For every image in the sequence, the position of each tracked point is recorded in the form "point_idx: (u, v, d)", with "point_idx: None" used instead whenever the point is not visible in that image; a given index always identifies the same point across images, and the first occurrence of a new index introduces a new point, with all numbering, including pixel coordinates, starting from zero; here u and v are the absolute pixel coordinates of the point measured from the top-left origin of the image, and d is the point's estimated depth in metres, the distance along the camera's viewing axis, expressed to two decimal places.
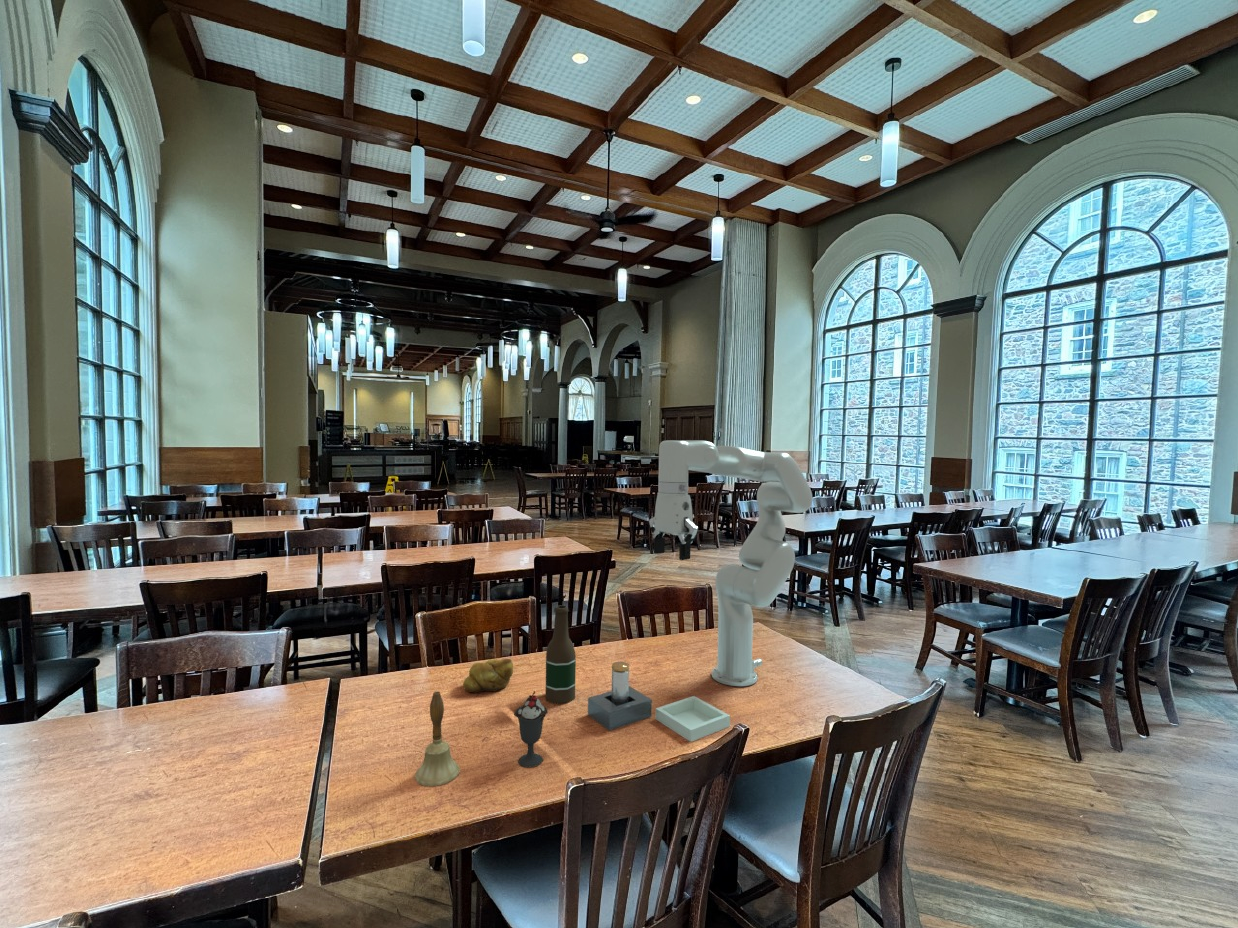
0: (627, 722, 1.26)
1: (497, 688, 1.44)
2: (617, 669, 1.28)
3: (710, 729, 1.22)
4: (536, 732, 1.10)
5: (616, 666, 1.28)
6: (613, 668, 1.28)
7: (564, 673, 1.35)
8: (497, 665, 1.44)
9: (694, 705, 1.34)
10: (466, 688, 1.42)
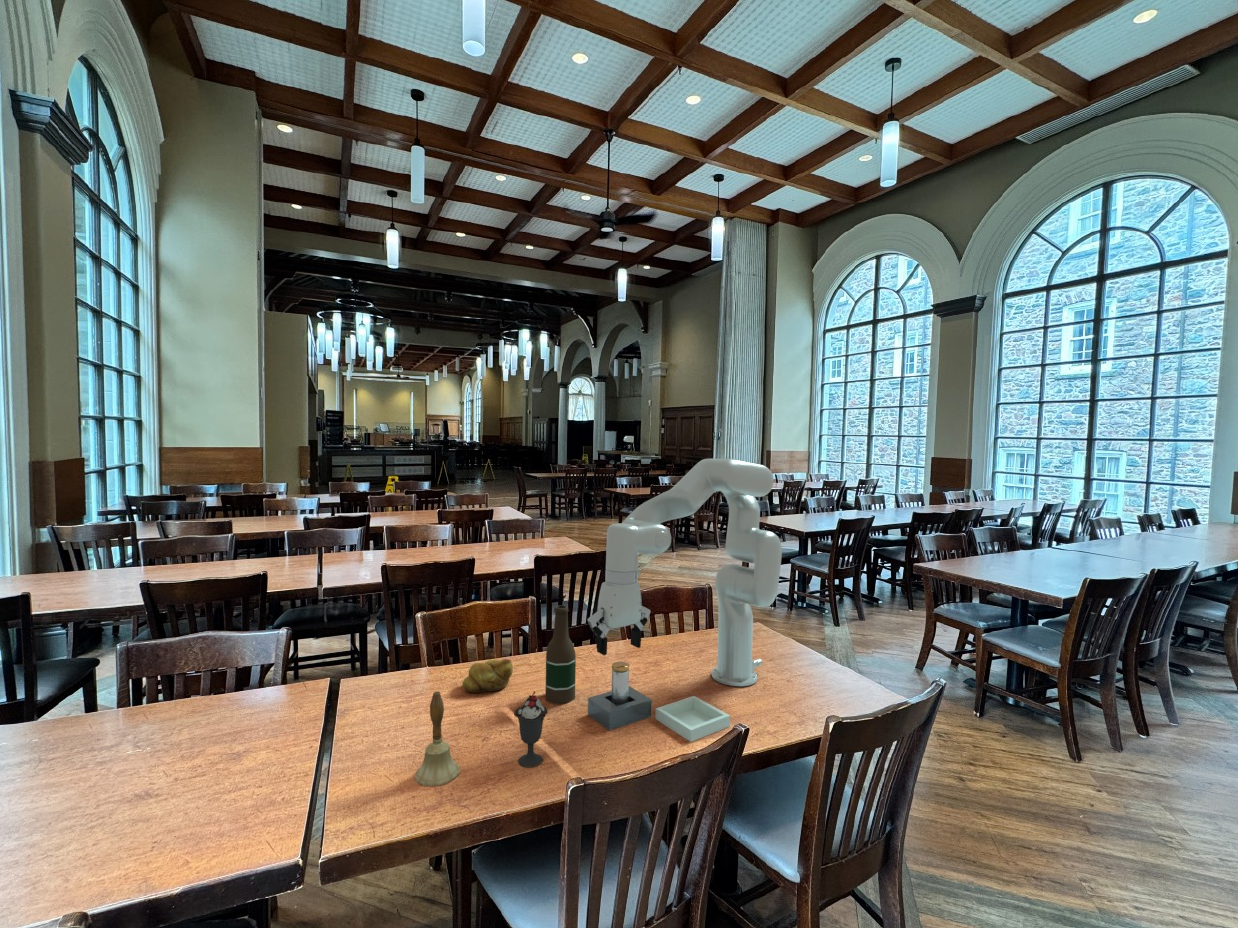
0: (627, 722, 1.26)
1: (496, 688, 1.43)
2: (617, 669, 1.28)
3: (710, 729, 1.22)
4: (536, 732, 1.10)
5: (616, 666, 1.28)
6: (613, 668, 1.28)
7: (564, 673, 1.35)
8: (496, 665, 1.44)
9: (694, 705, 1.34)
10: (465, 688, 1.42)
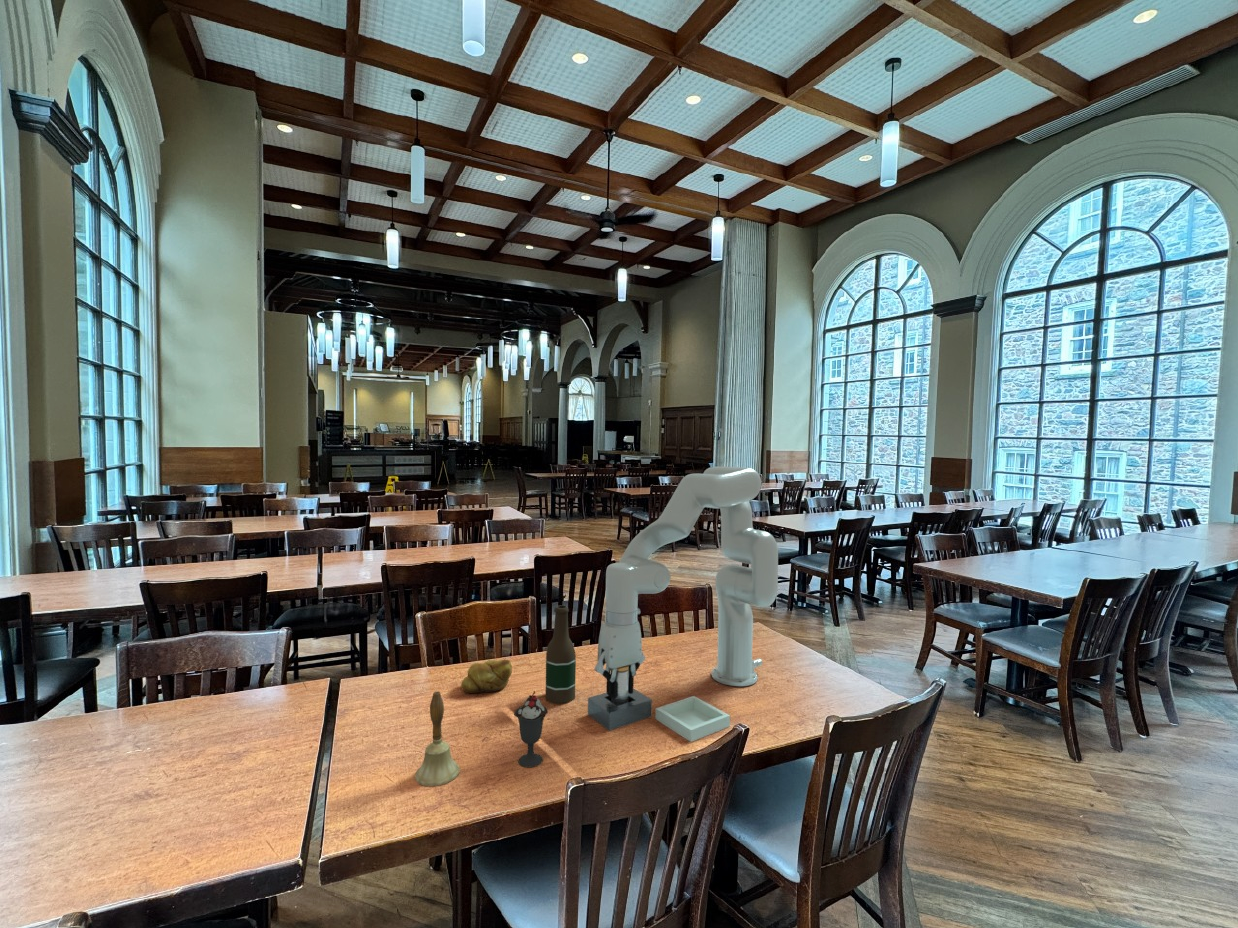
0: (627, 722, 1.26)
1: (495, 689, 1.43)
2: (617, 669, 1.28)
3: (710, 729, 1.22)
4: (536, 732, 1.10)
5: None
6: None
7: (565, 673, 1.35)
8: (495, 666, 1.44)
9: (694, 705, 1.34)
10: (464, 689, 1.42)
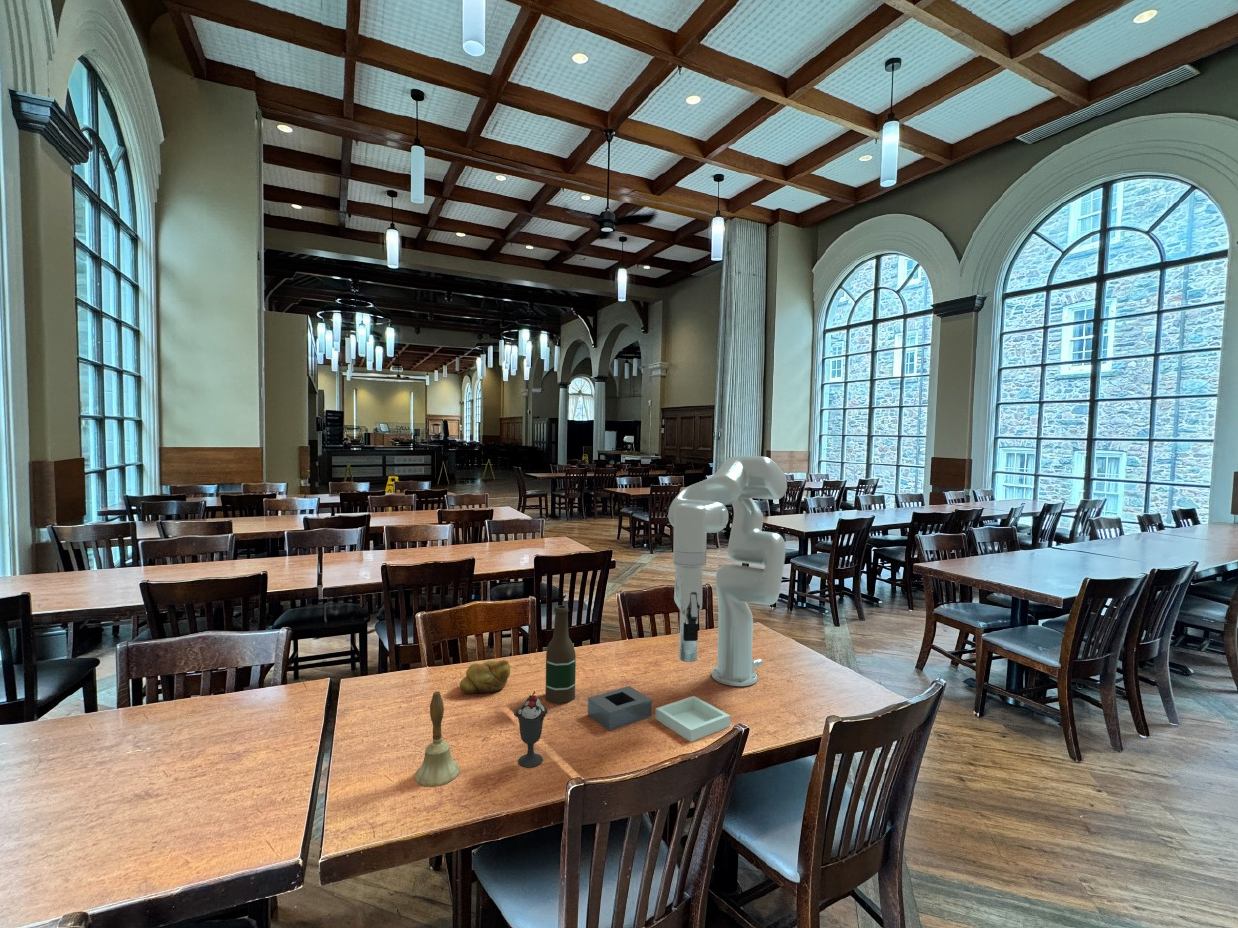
0: (627, 722, 1.26)
1: (493, 690, 1.43)
2: None
3: (710, 729, 1.22)
4: (536, 732, 1.10)
5: None
6: None
7: (564, 673, 1.35)
8: (493, 666, 1.43)
9: (694, 705, 1.34)
10: (462, 689, 1.41)
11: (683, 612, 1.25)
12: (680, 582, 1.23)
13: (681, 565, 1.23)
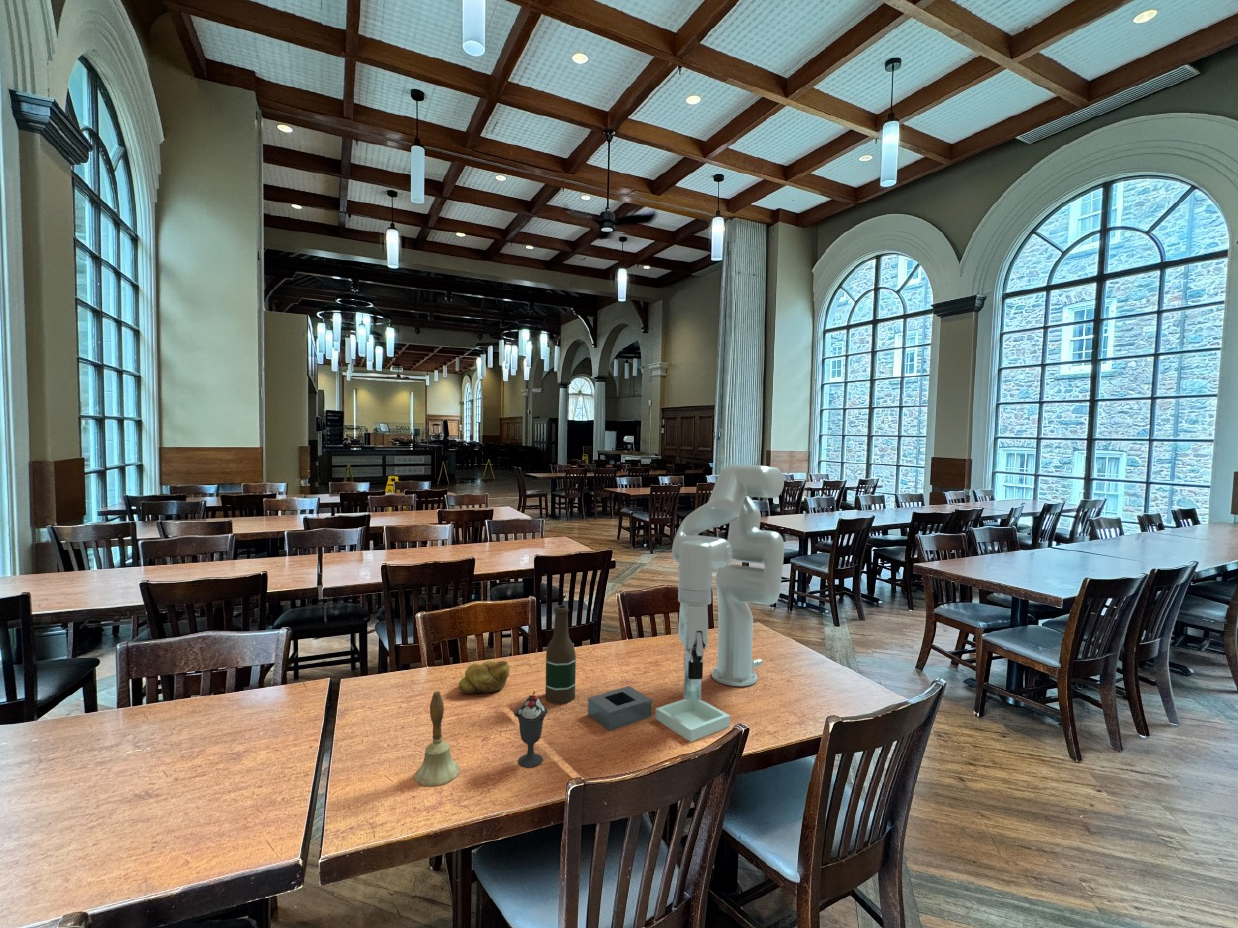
0: (627, 722, 1.26)
1: (492, 690, 1.42)
2: None
3: (710, 729, 1.22)
4: (536, 732, 1.10)
5: None
6: None
7: (565, 673, 1.35)
8: (492, 667, 1.43)
9: (694, 705, 1.34)
10: (461, 689, 1.41)
11: (688, 650, 1.25)
12: (685, 620, 1.23)
13: (687, 603, 1.23)
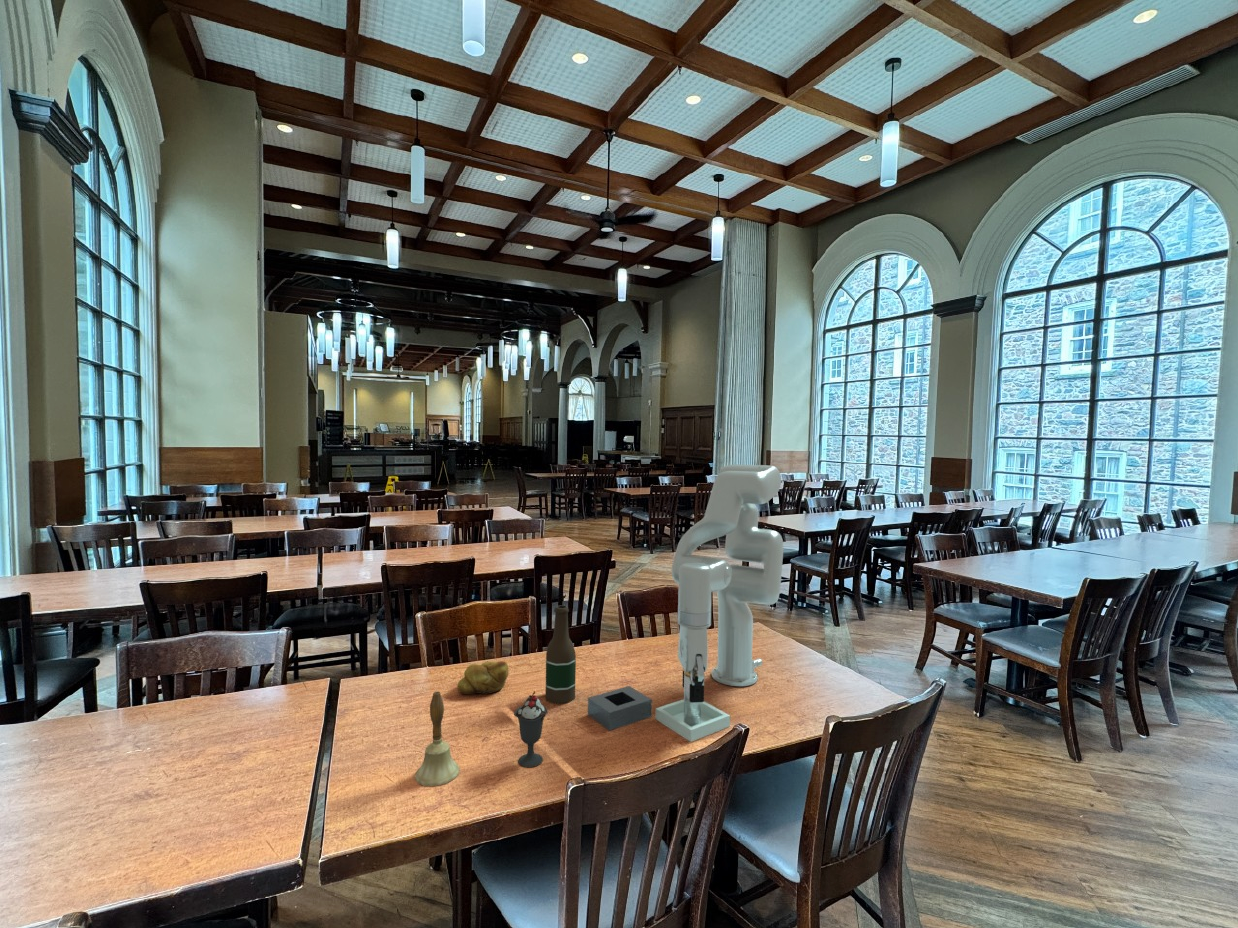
0: (627, 722, 1.26)
1: (491, 691, 1.42)
2: None
3: (710, 729, 1.22)
4: (536, 732, 1.10)
5: None
6: (694, 675, 1.25)
7: (565, 673, 1.35)
8: (491, 667, 1.43)
9: None
10: (460, 690, 1.41)
11: (688, 676, 1.26)
12: (685, 643, 1.23)
13: (686, 626, 1.23)
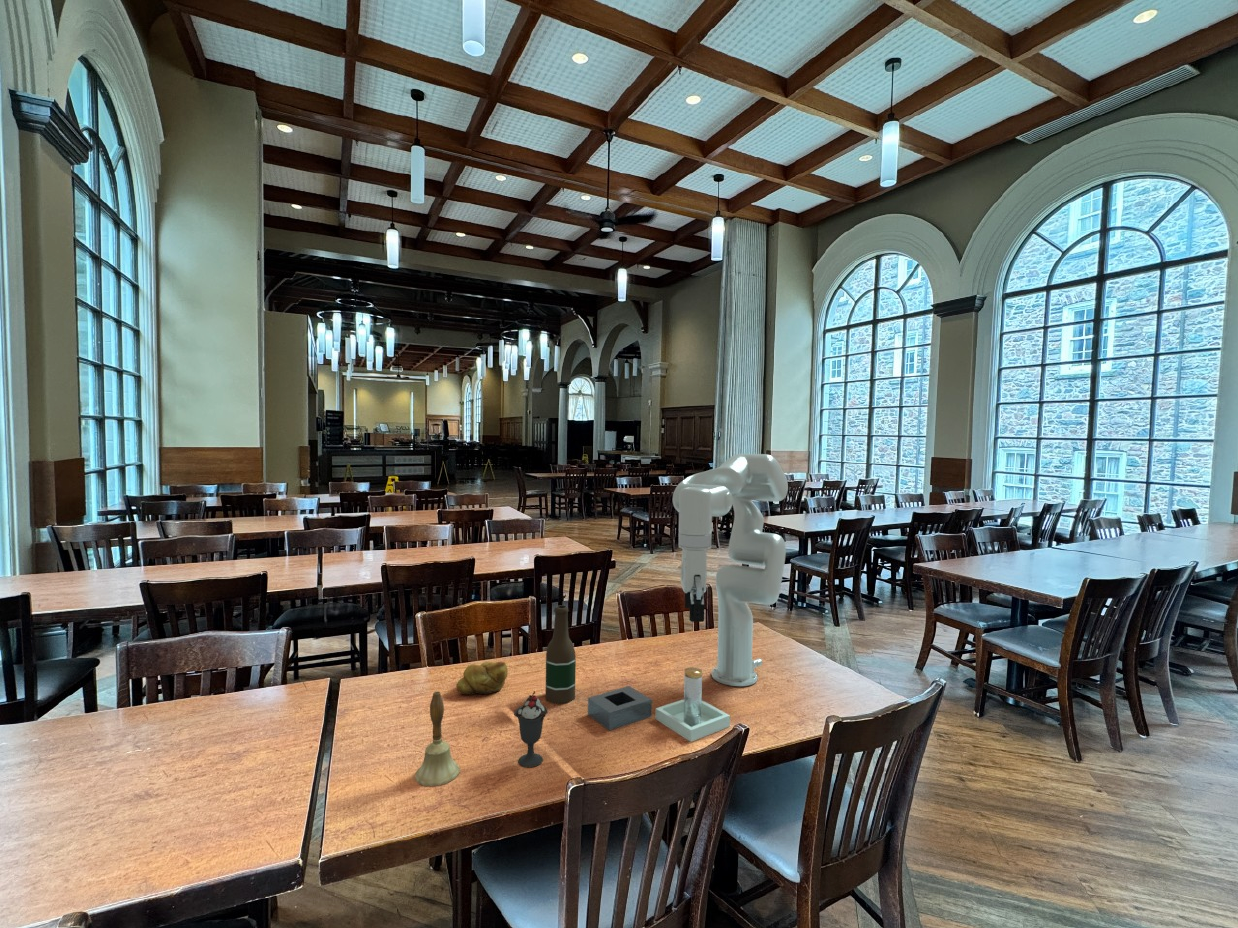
0: (627, 722, 1.26)
1: (490, 691, 1.42)
2: (699, 674, 1.25)
3: (710, 729, 1.22)
4: (536, 732, 1.10)
5: (696, 673, 1.25)
6: (695, 676, 1.25)
7: (564, 673, 1.35)
8: (490, 668, 1.43)
9: None
10: (459, 690, 1.41)
11: (688, 676, 1.25)
12: (684, 565, 1.24)
13: (685, 548, 1.24)
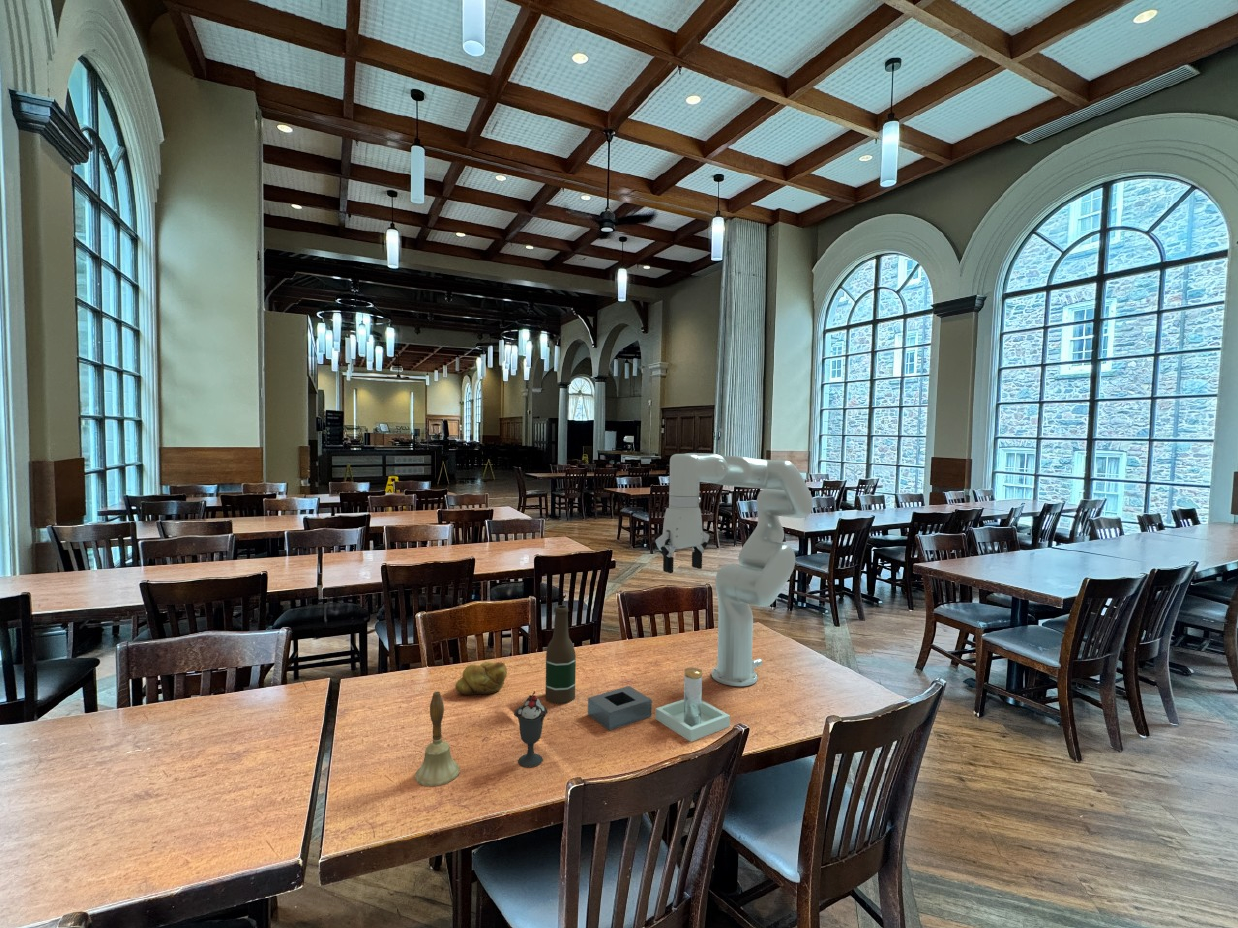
0: (627, 722, 1.26)
1: (489, 692, 1.41)
2: (699, 675, 1.25)
3: (710, 729, 1.22)
4: (536, 732, 1.10)
5: (696, 673, 1.25)
6: (695, 676, 1.25)
7: (564, 673, 1.35)
8: (489, 668, 1.42)
9: None
10: (457, 690, 1.41)
11: (688, 676, 1.25)
12: None
13: (669, 506, 1.40)
